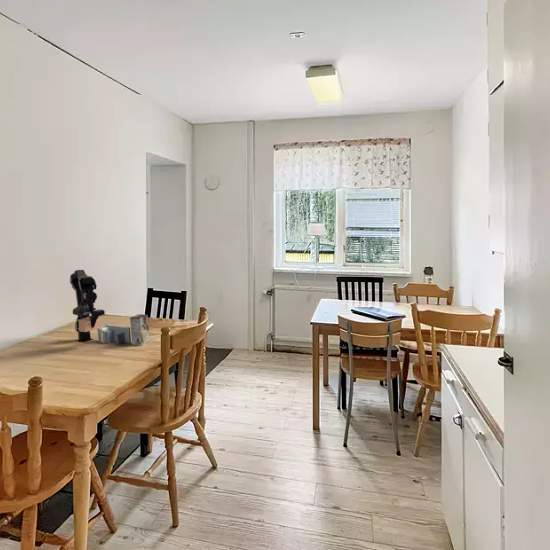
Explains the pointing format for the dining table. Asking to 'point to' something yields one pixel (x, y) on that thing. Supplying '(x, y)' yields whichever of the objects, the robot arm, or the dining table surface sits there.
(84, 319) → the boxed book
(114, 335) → the shelf
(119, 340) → the bookend
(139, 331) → the coffee box
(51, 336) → the dining table surface
